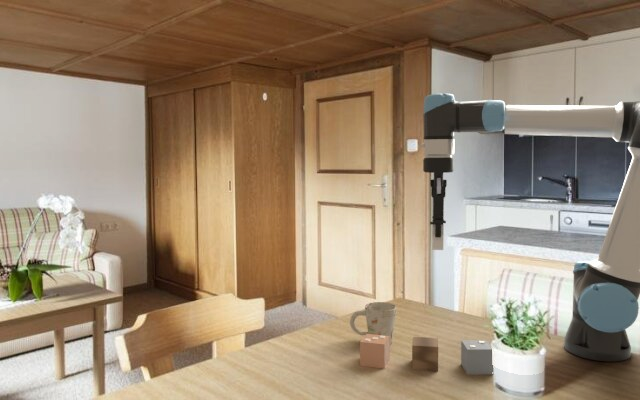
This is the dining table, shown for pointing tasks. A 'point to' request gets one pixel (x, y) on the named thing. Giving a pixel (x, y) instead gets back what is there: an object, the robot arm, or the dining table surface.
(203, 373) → the dining table surface
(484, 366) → the slate block
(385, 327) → the mug
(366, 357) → the terracotta block
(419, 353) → the walnut block
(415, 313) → the dining table surface
